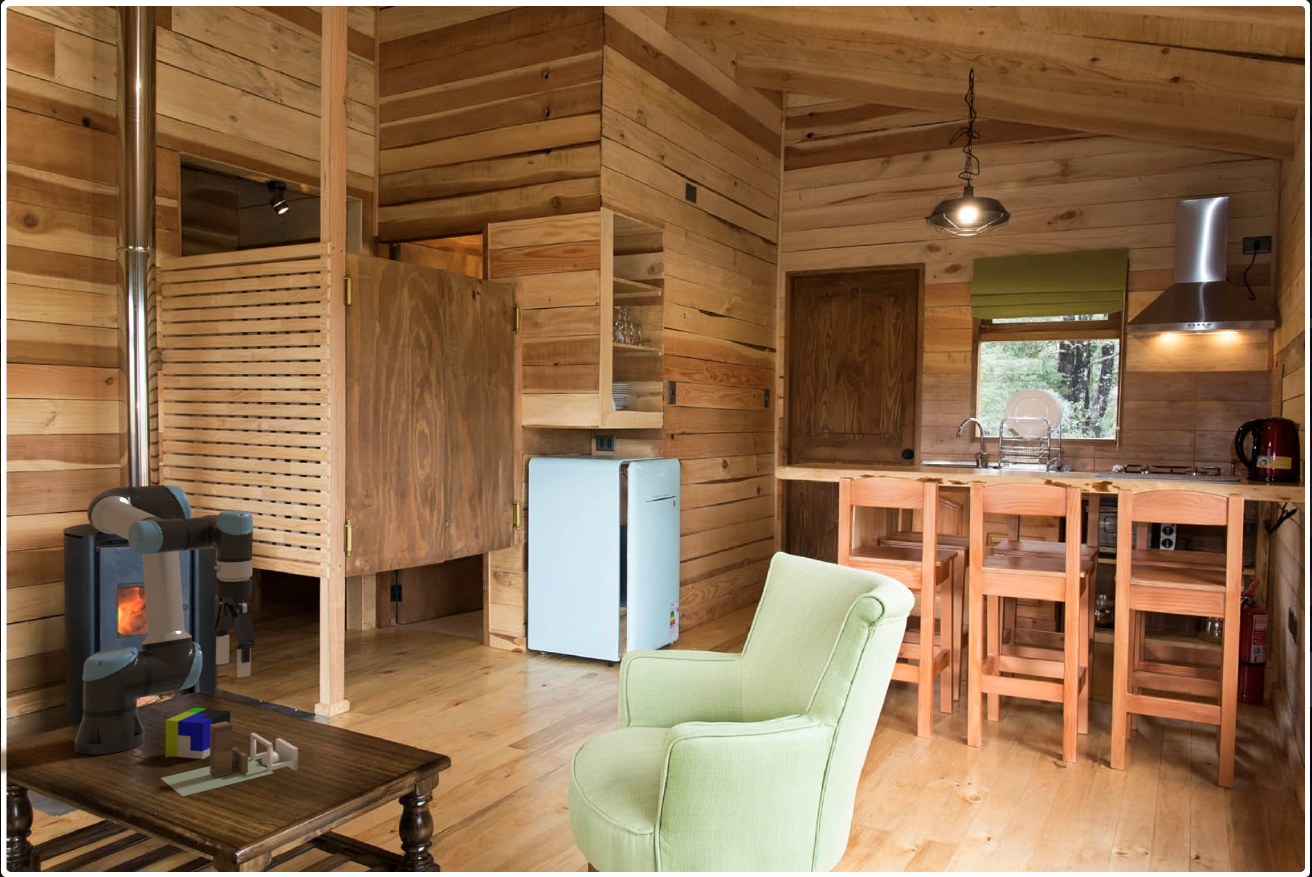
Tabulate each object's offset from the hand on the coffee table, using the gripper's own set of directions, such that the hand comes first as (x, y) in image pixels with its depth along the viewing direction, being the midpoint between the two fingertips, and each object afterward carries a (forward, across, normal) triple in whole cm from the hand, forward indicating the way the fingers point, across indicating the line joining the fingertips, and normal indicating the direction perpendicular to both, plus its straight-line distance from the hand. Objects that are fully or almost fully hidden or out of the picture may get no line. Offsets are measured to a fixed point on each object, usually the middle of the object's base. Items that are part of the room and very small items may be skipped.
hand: (232, 670), depth 215 cm
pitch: (+24, +4, -1) cm, 24 cm away
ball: (+22, +4, +8) cm, 23 cm away
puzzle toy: (+24, -16, -2) cm, 29 cm away
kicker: (+22, +4, -2) cm, 22 cm away
